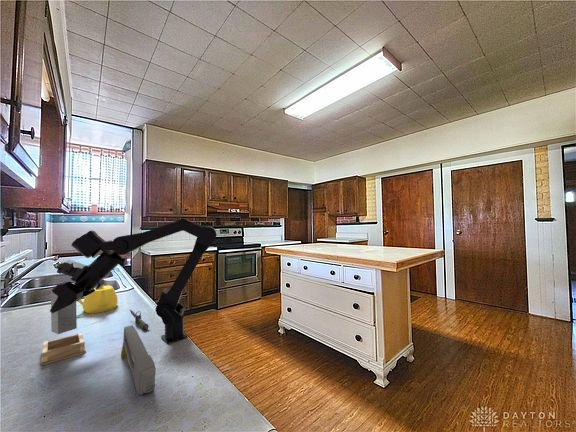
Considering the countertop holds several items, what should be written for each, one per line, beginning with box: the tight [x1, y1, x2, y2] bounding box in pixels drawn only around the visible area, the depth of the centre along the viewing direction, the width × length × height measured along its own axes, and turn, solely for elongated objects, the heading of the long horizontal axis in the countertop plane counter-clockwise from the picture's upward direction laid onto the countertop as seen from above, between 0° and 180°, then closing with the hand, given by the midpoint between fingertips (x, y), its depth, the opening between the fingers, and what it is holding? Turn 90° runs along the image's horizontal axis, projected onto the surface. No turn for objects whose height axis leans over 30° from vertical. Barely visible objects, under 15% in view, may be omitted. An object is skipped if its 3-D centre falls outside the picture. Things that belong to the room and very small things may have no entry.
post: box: [50, 290, 78, 335], centre depth 76 cm, size 4×4×12 cm
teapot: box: [77, 284, 119, 315], centre depth 114 cm, size 22×16×11 cm
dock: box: [40, 332, 87, 366], centre depth 75 cm, size 10×10×3 cm
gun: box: [120, 324, 157, 396], centre depth 64 cm, size 3×25×15 cm, turn 44°
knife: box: [129, 309, 150, 331], centre depth 96 cm, size 19×2×5 cm, turn 48°
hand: (58, 308), depth 75 cm, fingers closed on post, 6 cm apart
